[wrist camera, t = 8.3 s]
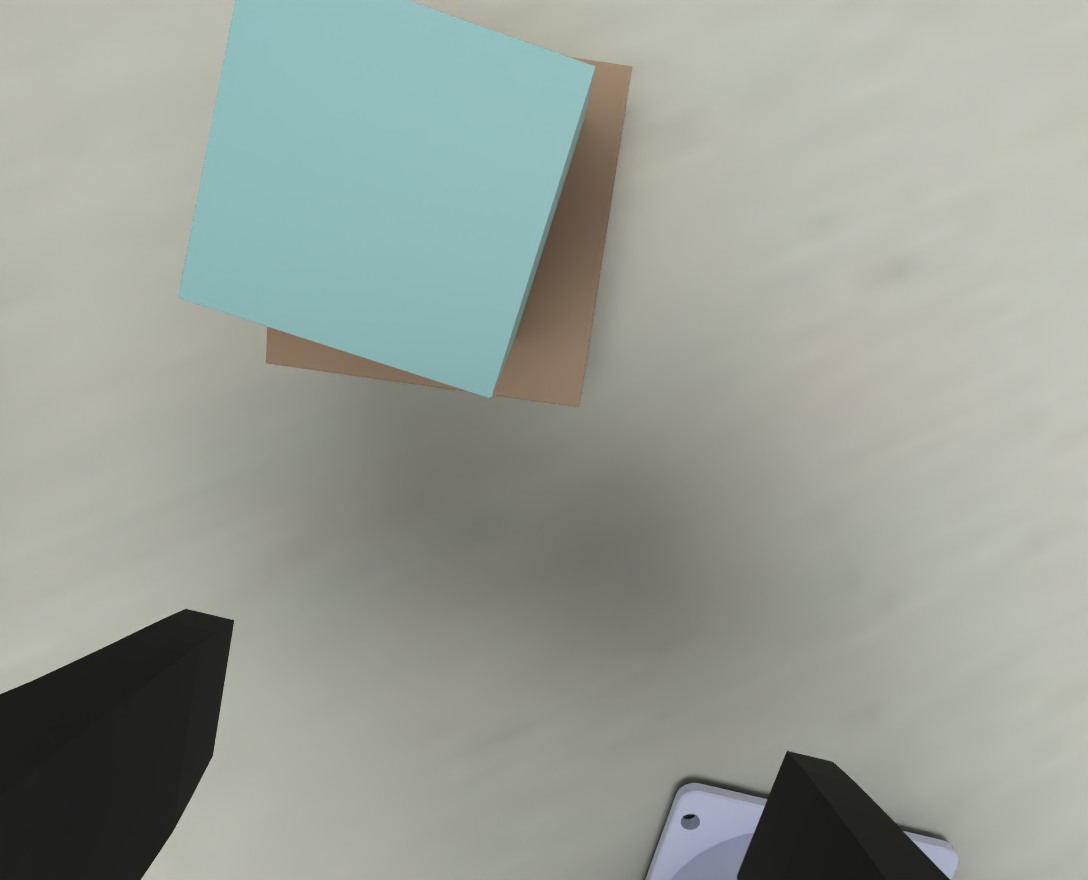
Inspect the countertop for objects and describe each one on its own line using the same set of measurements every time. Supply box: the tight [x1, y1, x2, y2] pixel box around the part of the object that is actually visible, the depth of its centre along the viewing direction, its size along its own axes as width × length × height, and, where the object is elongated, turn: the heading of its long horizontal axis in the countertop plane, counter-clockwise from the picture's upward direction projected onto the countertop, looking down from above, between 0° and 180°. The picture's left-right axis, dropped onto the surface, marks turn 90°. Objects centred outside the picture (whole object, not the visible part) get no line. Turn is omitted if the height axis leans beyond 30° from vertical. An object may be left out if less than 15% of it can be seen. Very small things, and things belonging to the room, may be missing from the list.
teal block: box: [178, 0, 595, 398], centre depth 12 cm, size 4×4×5 cm
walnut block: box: [266, 58, 632, 407], centre depth 16 cm, size 6×6×4 cm
